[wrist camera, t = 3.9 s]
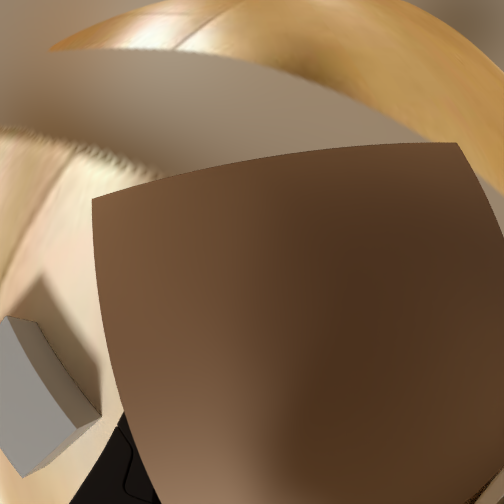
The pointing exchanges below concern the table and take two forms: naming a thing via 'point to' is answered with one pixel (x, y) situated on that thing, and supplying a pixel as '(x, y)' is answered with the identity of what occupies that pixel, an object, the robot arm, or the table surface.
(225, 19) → the table surface
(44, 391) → the base slab
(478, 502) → the robot toy
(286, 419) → the walnut block
